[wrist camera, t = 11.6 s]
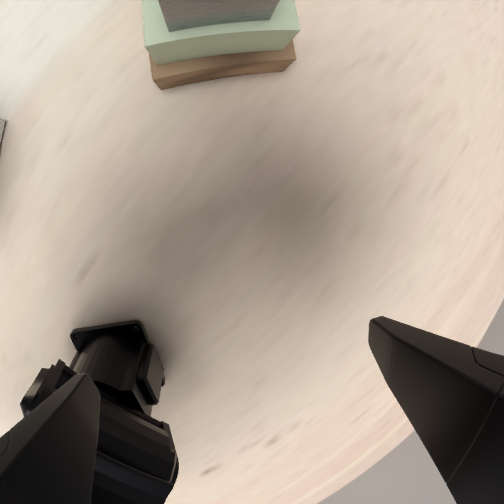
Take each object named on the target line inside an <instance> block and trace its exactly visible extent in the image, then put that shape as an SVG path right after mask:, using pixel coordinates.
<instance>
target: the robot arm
mask: <svg viewBox="0 0 504 504" xmlns="http://www.w3.org/2000/svg"><path fill="white" fill-rule="evenodd" d="M134 326H137V327H138V328H139V329H136V328H134ZM75 335H77V336H78V337H76V336H75ZM70 337H71V340H72V342H73V344H74V346H75V348H76V350H77V353H76V355H75V357H74V359H73V361H72V362H71V364H70V366H69V367H67V366H66V365H65V364H66V363H64V362H63V361H61V360H60V359H59V360H58V362H57V364H56V365H55V366H54V365H53V364H52V366H51V368H50V369H46V368H42V369H41V371H40V372H39V374H38V376H37V377H36V379H35V381H34V382H33V384H32V386H31V387H30V388H29V390H28V391H27V393H26V394H25V396H24V397H23V399H22V401H21V403H20V406H21V409H22V412H23V415H24V418H23V419H22V420H21V421H20V422H18V423H17V424H16V425H15V426H14V427H12V428H11V429H10V431H8V432H6V433H5V434H4V435H3V436H2V437H1V438H0V504H164V503H165V500H166V498H167V497H168V495H169V494H170V492H171V490H172V489H173V486H174V484H175V482H176V479H177V475H178V470H179V462H178V457H177V454H176V450H175V446H174V443H173V439H172V435H171V431H170V427H169V424H167V423H165V422H163V421H161V422H160V421H158V420H156V419H154V418H152V417H151V411H152V405H157V404H158V402H159V397H160V390H161V387H162V386H164V384H165V378H164V376H163V367H162V364H161V362H160V359H159V357H158V354H157V352H156V349H155V347H154V345H152V344H150V342H149V340H148V337H147V335H146V332H145V330H144V327H143V325H142V323H141V322H140V321H129V322H122V323H116V324H110V325H103V326H97V327H90V328H83V329H76V330H73V331H72V332H71V334H70ZM368 342H369V346H370V349H371V351H372V353H373V355H374V357H375V359H376V361H377V364H378V366H379V368H380V370H381V372H382V374H383V376H384V379H385V381H386V383H387V384H388V386H389V388H390V390H391V391H392V393H393V394H394V396H395V398H396V399H397V401H398V403H399V404H400V406H401V407H402V409H403V411H404V412H405V414H406V416H407V417H408V419H409V421H410V422H411V424H412V426H413V427H414V429H415V431H416V432H417V434H418V435H419V437H420V439H421V441H422V442H423V444H424V446H425V448H426V449H427V451H428V452H429V454H430V456H431V457H432V460H433V461H434V463H435V465H436V467H437V468H438V470H439V472H440V474H441V475H442V477H443V479H444V481H445V482H446V483H447V484H446V485H447V487H448V488H449V490H450V492H451V494H452V495H453V497H454V499H455V501H456V503H457V504H504V356H503V355H499V354H495V353H491V352H488V351H485V350H481V349H478V348H475V347H471V346H469V345H466V344H463V343H460V342H457V341H454V340H451V339H448V338H445V337H442V336H439V335H436V334H433V333H430V332H427V331H424V330H421V329H419V328H416V327H413V326H410V325H407V324H404V323H401V322H398V321H395V320H392V319H389V318H386V317H383V316H380V317H376V318H373V319H371V320H370V322H369V338H368Z"/></svg>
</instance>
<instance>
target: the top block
mask: <svg viewBox="0 0 504 504" xmlns="http://www.w3.org/2000/svg"><path fill="white" fill-rule="evenodd" d="M142 10H143V27H144V41H145V47H146V49H147V51H148V52H149V54H150V55H151V57H152V58H153V60H154V62H155V63H156V65H161V64H166V63H171V62H177V61H182V60H188V59H195V58H201V57H208V56H216V55H225V54H234V53H246V52H259V51H281V50H284V49H285V48H286V46H287V45H288V44H289V43H290V42H291V40H292V39H293V38H294V37H295V36H296V34H297V33H298V32H299V31H300V26H299V20H298V15H297V10H296V5H295V0H280V1H279V3H278V5H277V7H276V8H275V10H274V12H273V14H272V16H271V18H270V20H261V21H246V22H234V23H224V24H216V25H208V26H201V27H195V28H189V29H183V30H177V31H172V32H169V31H168V28H167V25H166V22H165V19H164V16H163V13H162V11H161V8H160V5H159V2H158V0H142Z"/></svg>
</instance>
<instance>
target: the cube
mask: <svg viewBox="0 0 504 504" xmlns="http://www.w3.org/2000/svg"><path fill="white" fill-rule="evenodd" d="M279 1H280V0H158V2H159V5H160V8H161V11H162V13H163V16H164V19H165V22H166V25H167V28H168V31H169V32H172V31H177V30H183V29H189V28H195V27H201V26H208V25H216V24H224V23H234V22H246V21H261V20H270V18H271V16H272V14H273V12H274V10H275V8H276V7H277V5H278V3H279Z"/></svg>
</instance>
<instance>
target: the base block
mask: <svg viewBox="0 0 504 504" xmlns="http://www.w3.org/2000/svg"><path fill="white" fill-rule="evenodd" d="M149 56H150V64H151V71H152V78H153V81H154V82H155V83H156V84H157V86H158V87H159V88H160V89H161V90H163V89H167V88H172V87H176V86H181V85H186V84H191V83H196V82H201V81H207V80H213V79H219V78H226V77H233V76H240V75H248V74H257V73H266V72H277V71H284V70H285V69H286V68H287V67H288V66H289V65H290V64H292V63H293V62H294V61H295V60H296V55H295V50H294V45H293V40H291V42H290V43H289V44H288V45H287V46H286V48H285V49H284V50H281V51H259V52H246V53H234V54H225V55H216V56H208V57H201V58H195V59H188V60H182V61H177V62H171V63H166V64H161V65H156V63H155V62H154V60H153V58H152V57H151V55H150V54H149Z"/></svg>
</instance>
